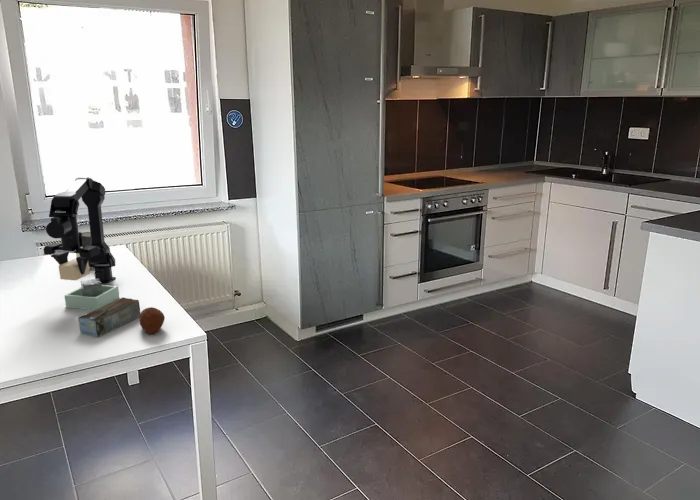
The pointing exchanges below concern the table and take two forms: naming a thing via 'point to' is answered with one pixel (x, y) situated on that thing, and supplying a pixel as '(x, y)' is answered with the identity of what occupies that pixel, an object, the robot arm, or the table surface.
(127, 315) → the beverage carton
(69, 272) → the tan rectangular block
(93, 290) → the tin
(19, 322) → the table surface
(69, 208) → the robot arm
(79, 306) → the tote
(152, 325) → the potato
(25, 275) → the table surface
